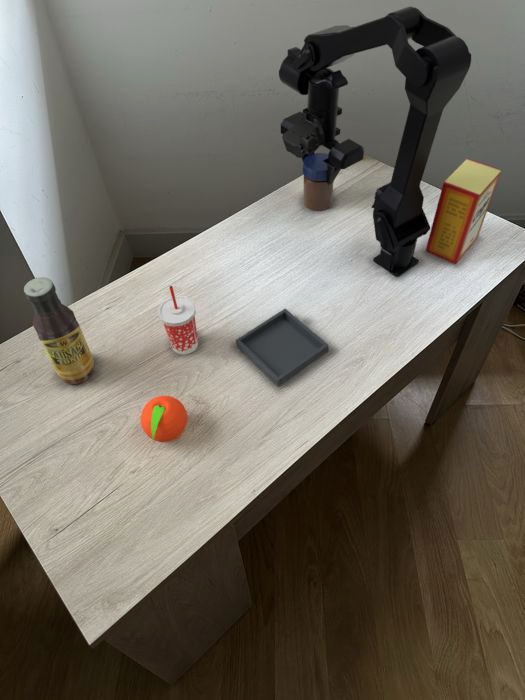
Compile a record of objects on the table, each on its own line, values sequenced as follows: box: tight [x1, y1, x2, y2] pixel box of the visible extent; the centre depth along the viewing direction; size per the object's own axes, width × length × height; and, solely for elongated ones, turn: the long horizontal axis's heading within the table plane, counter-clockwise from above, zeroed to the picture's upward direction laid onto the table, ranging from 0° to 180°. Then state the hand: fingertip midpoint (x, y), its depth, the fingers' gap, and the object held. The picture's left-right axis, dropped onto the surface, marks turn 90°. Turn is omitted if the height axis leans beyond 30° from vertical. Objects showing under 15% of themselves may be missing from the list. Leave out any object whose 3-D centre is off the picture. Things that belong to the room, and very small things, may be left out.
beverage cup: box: [157, 285, 199, 355], centre depth 85 cm, size 6×6×14 cm
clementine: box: [140, 395, 188, 443], centre depth 77 cm, size 8×7×7 cm
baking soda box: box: [425, 158, 503, 265], centre depth 98 cm, size 10×6×16 cm
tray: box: [235, 308, 329, 388], centre depth 89 cm, size 11×11×2 cm
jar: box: [302, 175, 335, 212], centre depth 111 cm, size 6×6×9 cm
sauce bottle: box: [23, 276, 95, 385], centre depth 80 cm, size 7×6×20 cm
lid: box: [302, 152, 329, 181], centre depth 108 cm, size 7×7×2 cm
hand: (318, 176), depth 110 cm, fingers closed on lid, 6 cm apart
